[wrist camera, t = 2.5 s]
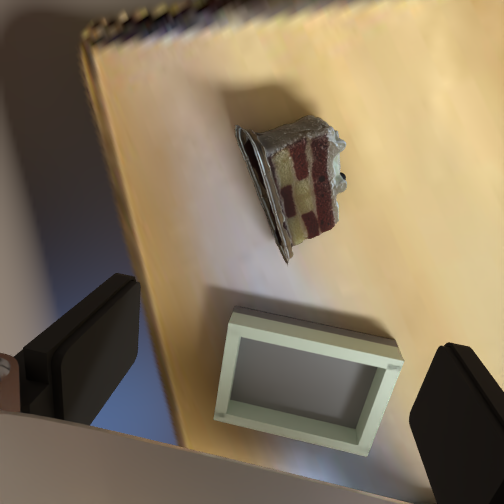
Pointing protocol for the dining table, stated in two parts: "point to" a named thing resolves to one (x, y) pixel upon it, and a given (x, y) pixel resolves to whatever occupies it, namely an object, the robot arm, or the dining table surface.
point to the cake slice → (296, 178)
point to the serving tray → (306, 380)
